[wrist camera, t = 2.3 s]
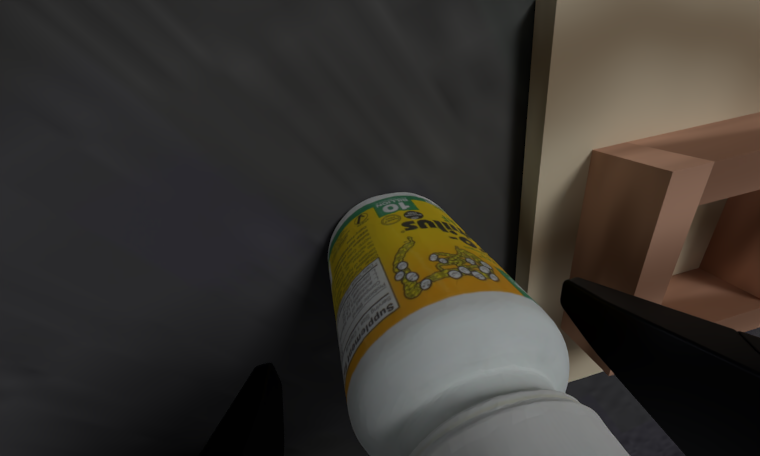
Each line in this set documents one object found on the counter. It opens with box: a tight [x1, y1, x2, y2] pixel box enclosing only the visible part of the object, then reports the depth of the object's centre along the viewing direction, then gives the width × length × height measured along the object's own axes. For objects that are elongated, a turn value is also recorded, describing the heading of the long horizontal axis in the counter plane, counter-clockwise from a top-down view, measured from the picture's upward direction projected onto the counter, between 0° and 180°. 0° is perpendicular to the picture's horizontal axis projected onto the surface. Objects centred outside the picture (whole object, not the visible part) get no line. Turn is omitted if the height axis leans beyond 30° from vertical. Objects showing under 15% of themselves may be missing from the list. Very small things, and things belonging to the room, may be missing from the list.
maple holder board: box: [515, 0, 760, 382], centre depth 14 cm, size 20×14×4 cm
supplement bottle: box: [328, 192, 630, 456], centre depth 9 cm, size 5×5×10 cm
